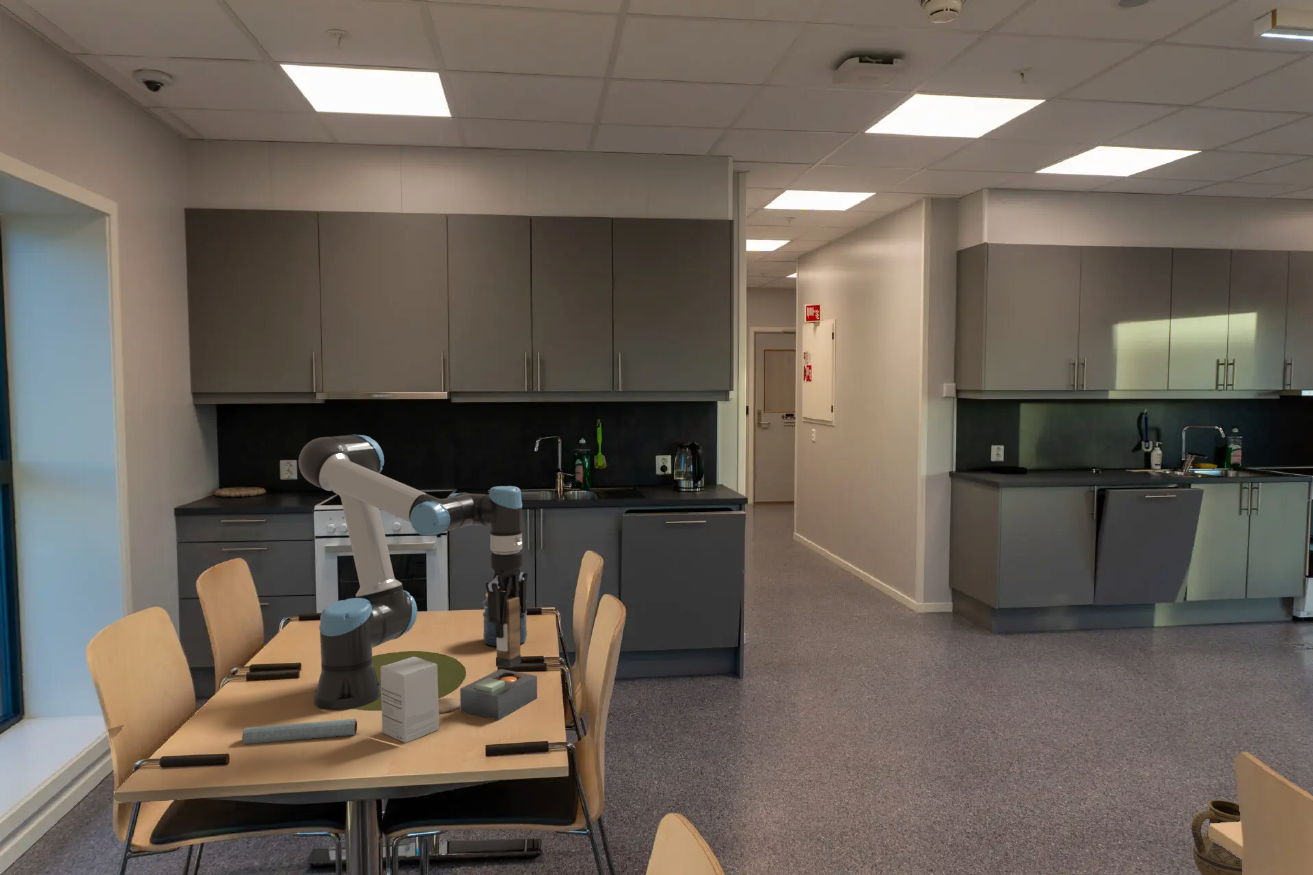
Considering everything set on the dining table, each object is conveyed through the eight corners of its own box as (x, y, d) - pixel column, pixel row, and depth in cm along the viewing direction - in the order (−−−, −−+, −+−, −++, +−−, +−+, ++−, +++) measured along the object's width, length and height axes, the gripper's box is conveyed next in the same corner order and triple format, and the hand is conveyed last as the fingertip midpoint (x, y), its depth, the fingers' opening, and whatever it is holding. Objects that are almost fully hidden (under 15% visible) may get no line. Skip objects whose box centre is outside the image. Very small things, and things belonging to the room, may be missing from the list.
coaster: (445, 715, 188) (445, 713, 188) (418, 709, 191) (418, 707, 191) (468, 703, 195) (468, 701, 195) (442, 698, 198) (442, 695, 198)
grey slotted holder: (537, 697, 198) (536, 675, 198) (498, 720, 185) (498, 696, 185) (500, 690, 203) (500, 668, 203) (460, 711, 190) (460, 688, 190)
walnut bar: (496, 665, 196) (495, 599, 195) (507, 660, 199) (505, 595, 199) (510, 667, 194) (509, 601, 193) (520, 662, 198) (519, 597, 197)
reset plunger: (520, 688, 198) (520, 678, 198) (510, 693, 194) (510, 683, 194) (507, 685, 200) (506, 675, 200) (496, 690, 196) (496, 680, 196)
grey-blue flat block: (242, 747, 172) (241, 731, 172) (250, 734, 179) (250, 719, 179) (355, 737, 177) (354, 722, 177) (359, 725, 184) (359, 710, 183)
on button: (504, 691, 192) (504, 680, 192) (491, 698, 188) (491, 687, 187) (488, 688, 194) (488, 677, 194) (475, 694, 190) (475, 684, 190)
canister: (522, 632, 253) (521, 575, 252) (531, 644, 241) (530, 585, 240) (479, 636, 248) (479, 579, 247) (487, 649, 236) (486, 589, 235)
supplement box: (416, 719, 186) (415, 655, 185) (440, 730, 180) (439, 663, 179) (380, 732, 179) (379, 665, 178) (404, 743, 173) (402, 674, 172)
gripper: (496, 559, 186) (498, 660, 187) (540, 546, 201) (542, 639, 202) (470, 556, 189) (472, 655, 191) (515, 543, 204) (517, 635, 206)
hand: (508, 647), depth 196 cm, fingers closed on walnut bar, 4 cm apart
